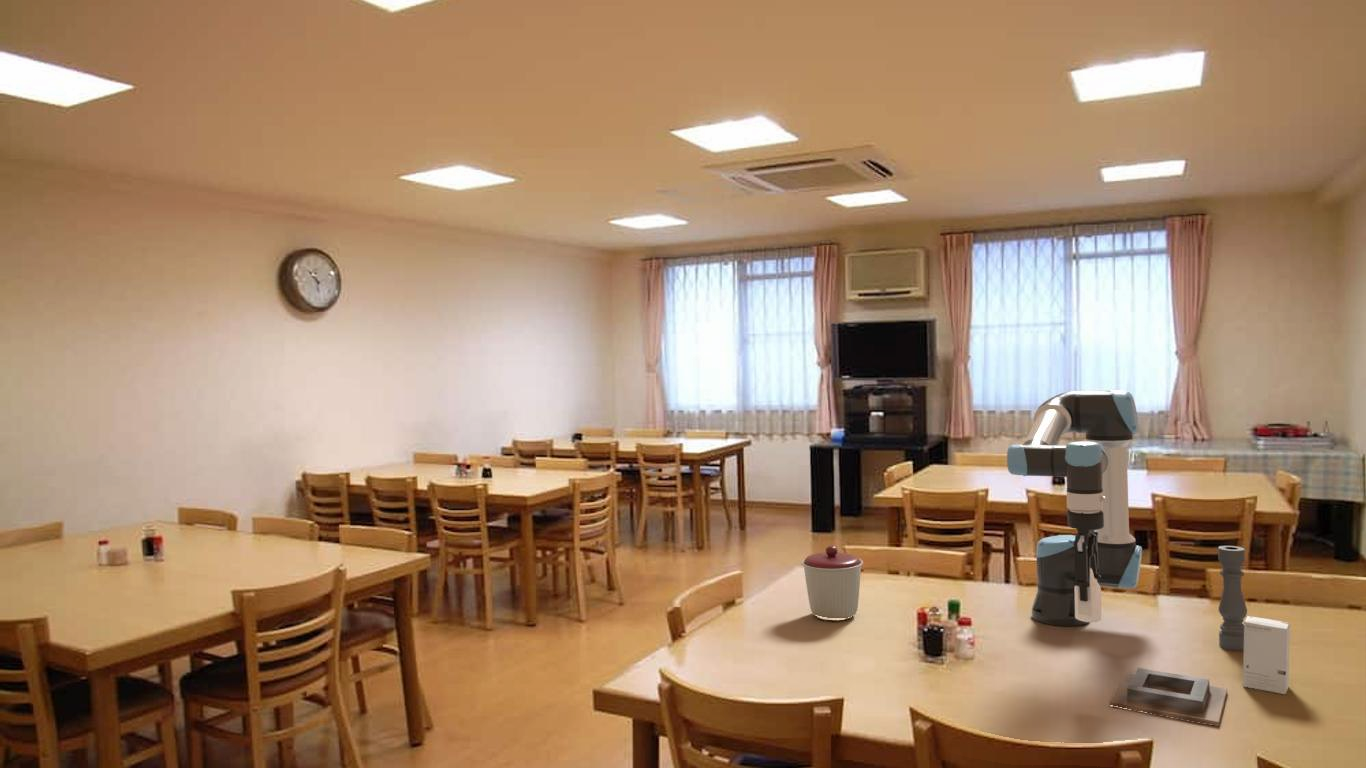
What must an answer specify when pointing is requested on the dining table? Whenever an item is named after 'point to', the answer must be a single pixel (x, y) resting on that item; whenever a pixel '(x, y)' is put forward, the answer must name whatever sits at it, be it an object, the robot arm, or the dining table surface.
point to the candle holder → (1232, 598)
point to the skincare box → (1266, 654)
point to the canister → (833, 583)
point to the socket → (1171, 696)
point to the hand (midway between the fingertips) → (1088, 610)
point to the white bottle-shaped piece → (1095, 602)
